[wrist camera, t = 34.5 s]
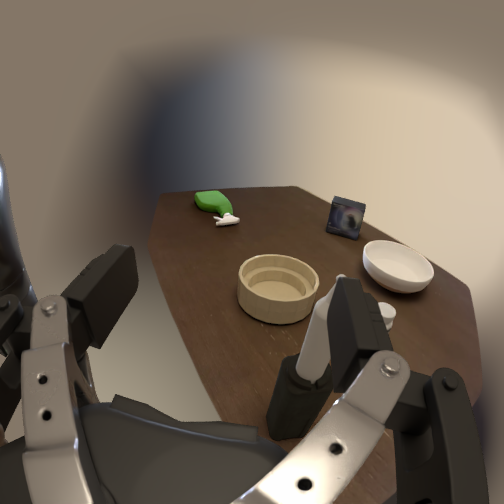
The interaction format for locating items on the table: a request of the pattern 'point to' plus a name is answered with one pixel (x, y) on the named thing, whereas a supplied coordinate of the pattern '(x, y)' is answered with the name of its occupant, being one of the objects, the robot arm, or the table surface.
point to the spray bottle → (216, 206)
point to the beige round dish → (277, 288)
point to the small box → (345, 217)
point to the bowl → (397, 266)
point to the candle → (303, 380)
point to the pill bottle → (387, 314)
